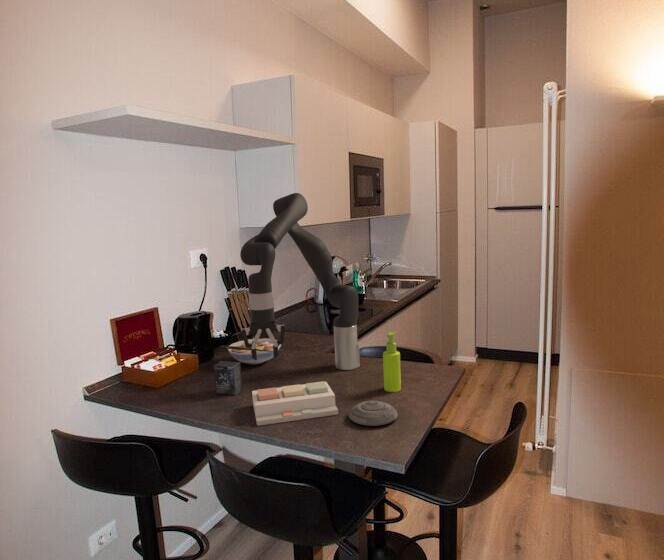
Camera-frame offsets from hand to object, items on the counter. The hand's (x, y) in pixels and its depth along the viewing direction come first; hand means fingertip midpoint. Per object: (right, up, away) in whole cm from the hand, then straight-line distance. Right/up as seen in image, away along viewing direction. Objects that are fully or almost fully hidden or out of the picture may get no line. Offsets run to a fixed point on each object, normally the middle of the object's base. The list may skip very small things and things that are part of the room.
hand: (265, 358), depth 158 cm
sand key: (+9, -13, +4) cm, 16 cm away
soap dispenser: (+43, -13, +17) cm, 48 cm away
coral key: (+1, -14, +2) cm, 14 cm away
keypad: (+9, -17, +3) cm, 19 cm away
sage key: (+16, -13, +6) cm, 21 cm away
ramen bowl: (-11, -10, +55) cm, 57 cm away
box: (-16, -16, +21) cm, 31 cm away
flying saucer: (+34, -18, -6) cm, 39 cm away
